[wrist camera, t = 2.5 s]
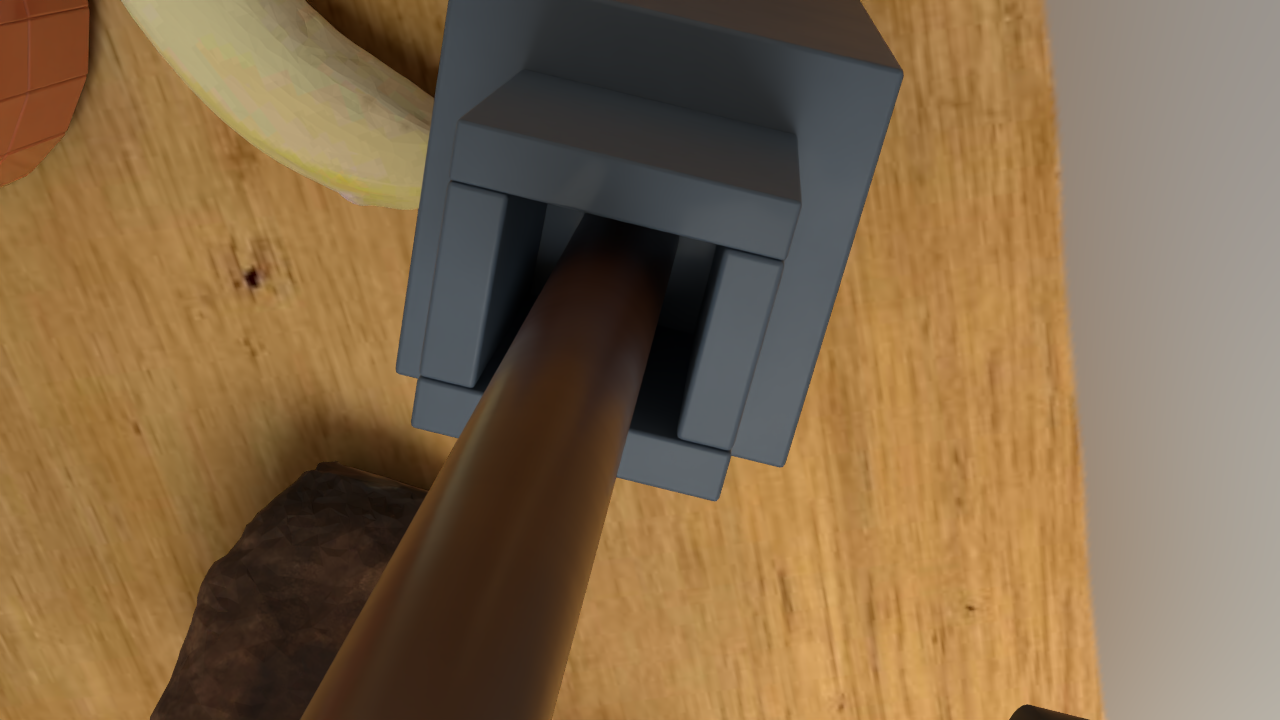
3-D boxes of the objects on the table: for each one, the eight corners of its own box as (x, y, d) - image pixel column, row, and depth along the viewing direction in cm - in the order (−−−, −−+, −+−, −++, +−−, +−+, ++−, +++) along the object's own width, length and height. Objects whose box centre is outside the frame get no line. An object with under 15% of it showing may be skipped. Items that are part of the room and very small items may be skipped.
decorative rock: (359, 763, 40) (221, 1058, 30) (195, 688, 39) (-1, 964, 29) (496, 493, 35) (386, 739, 25) (311, 405, 35) (125, 620, 25)
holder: (578, -74, 29) (366, -14, 14) (856, -8, 28) (939, 124, 14) (528, 197, 31) (308, 485, 17) (782, 259, 31) (784, 603, 17)
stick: (591, 175, 19) (178, 853, 6) (689, 199, 19) (490, 932, 6) (572, 268, 19) (162, 1062, 6) (666, 291, 19) (443, 1136, 6)
